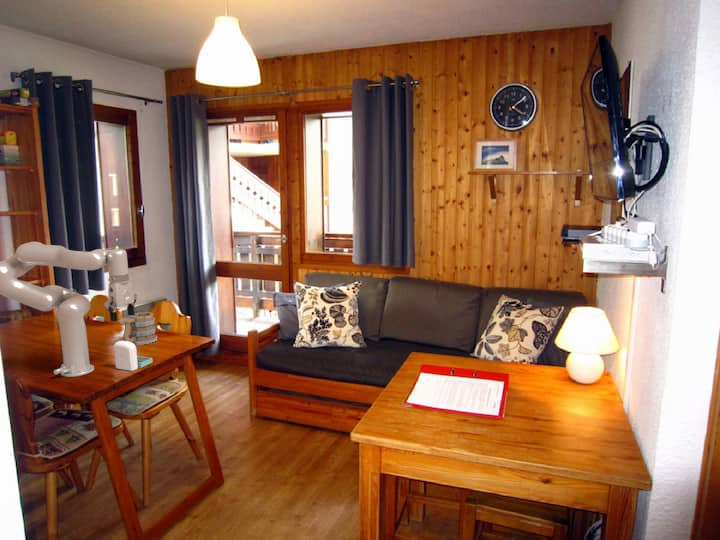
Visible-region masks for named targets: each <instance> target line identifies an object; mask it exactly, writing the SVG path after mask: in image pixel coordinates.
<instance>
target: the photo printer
mask: <svg viewBox="0 0 720 540" xmlns="http://www.w3.org/2000/svg"><path fill="white" fill-rule="evenodd" d="M136 346H137V345H135V344H133V343H131V342H128V341H125V340H118V341H116V342H115V343H114V345H113V350H114V351H113V352H114V362H115V363H114V365H115V368H116V369H118V370H119V369H120V370H123V371H124V370H125V371H131V372H132V371H133V372H134V371H135V370H138V368H139V367H138V363H137V362H138V361H137V356H138V355H137V354H138V352H137V347H136Z"/></svg>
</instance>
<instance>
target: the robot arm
mask: <svg viewBox="0 0 720 540" xmlns="http://www.w3.org/2000/svg"><path fill="white" fill-rule="evenodd" d="M128 265H129V263H128V254H127V251H126V250H125V249H121V248H114V249H103V248H98V249H97V248H96V249H94V250H91V251H78V250H71V249H68V248H66V247H65V246H62V245H53V244H43V243H42V242H40V241H30V242H26V243H23V244H22V243H21V244H20V245H18V247H17V248H16V250H15V253H14V254H13V255H12V256H10V257H9V258H8V259H3V260H1V261H0V296H3V297H5V298H7V299H10V300H13V301H16V302H19V303H20V304H22V305H25V306H28V307H31V308H33V309H36V310H38V311H42V312H50V311H52V310H53V309H56V318H57V319H56V320H57V322H58V326H59V333H60V339H61V340H60V341H61V350H62V359H63V363H62V364H61V366H60V368H57V369H54V370H53V374H54V375H58V374H60V375H61V376H62V377H70V378H71V377H80V376H83V375H87V374H89V373H92V372H94V370H95V366H94V365H92V364H90V355H89V344H88V335H87V326H86V323H85V320H84V319H85V318H84V316H85V315H86V314H87V313H89V311H90V309H91V301H90V300H89V298H87V296H85V295H83V294H81V293H78V292H76V291H73V290H70V289H68V288H65V287H62V286H60V285H55V284H50V285H49V284H48V285H46V286H44V287H42V286H38V285H36V284H32V283H30V282H28V281H25V280H21V279H18V278H19V277H22V276H24V275H25V274H27V272H29V271H30V270H31V269H33V268H34V267H36V266H47V267H48V266H49V267H59V268H60V267H61V268H63V269H72V270H80V271H81V270H82V271H96V270H99V269H101V268H103V267H106V266H107V268H108V282H109V283H108V287H107V288H108V290H107V291H108V296H107V297H108V299H107V300H106V301H105V302H104V303H103V306H104V307H105V309H106V310H107V311H108V312H109V319H110V322H118V321H119V320H118V313H117V312H118V311H117V309H118V308H121V307H124V306H126V305H127V306H126V308H127V309H126V310H127V315H128V316H131V315H132V316H133V315H135V314H136V313H135V306H136V302H137V298H138V294H136V293H135V291H134V288H133V283H132V281H131V280H130V275H129V266H128Z"/></svg>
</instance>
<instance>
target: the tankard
mask: <svg viewBox="0 0 720 540" xmlns="http://www.w3.org/2000/svg"><path fill="white" fill-rule="evenodd" d="M117 322H118V323H119V325H122V324H123V323H124V331H123V339H124V341H128V342H131V343H133V344H135V346H145V345H144V344H148V345H150V344H149V343H151V344H153V343H152V342H154V343H156V342H158V339H159V338H158V335H155V334H156V326H155V322H156V318H155V317H154V313H153V312H149V311H148V312H147V311H145V312H144V311H143V312H136V313H135V315H133V316H132V315H130V319H128V318H123V317H121V318H120V319H119V320H117ZM129 333H130V334H129ZM129 335H130V336H131V338H130V336H129ZM157 338H158V339H157ZM155 341H156V342H155Z"/></svg>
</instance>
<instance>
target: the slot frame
mask: <svg viewBox="0 0 720 540" xmlns="http://www.w3.org/2000/svg"><path fill="white" fill-rule="evenodd" d="M137 363H138V368H139V369H140V368H143V367H145V366H148V365H151V364H152V363H153V358H152V357H148V356H140V355H137Z"/></svg>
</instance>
